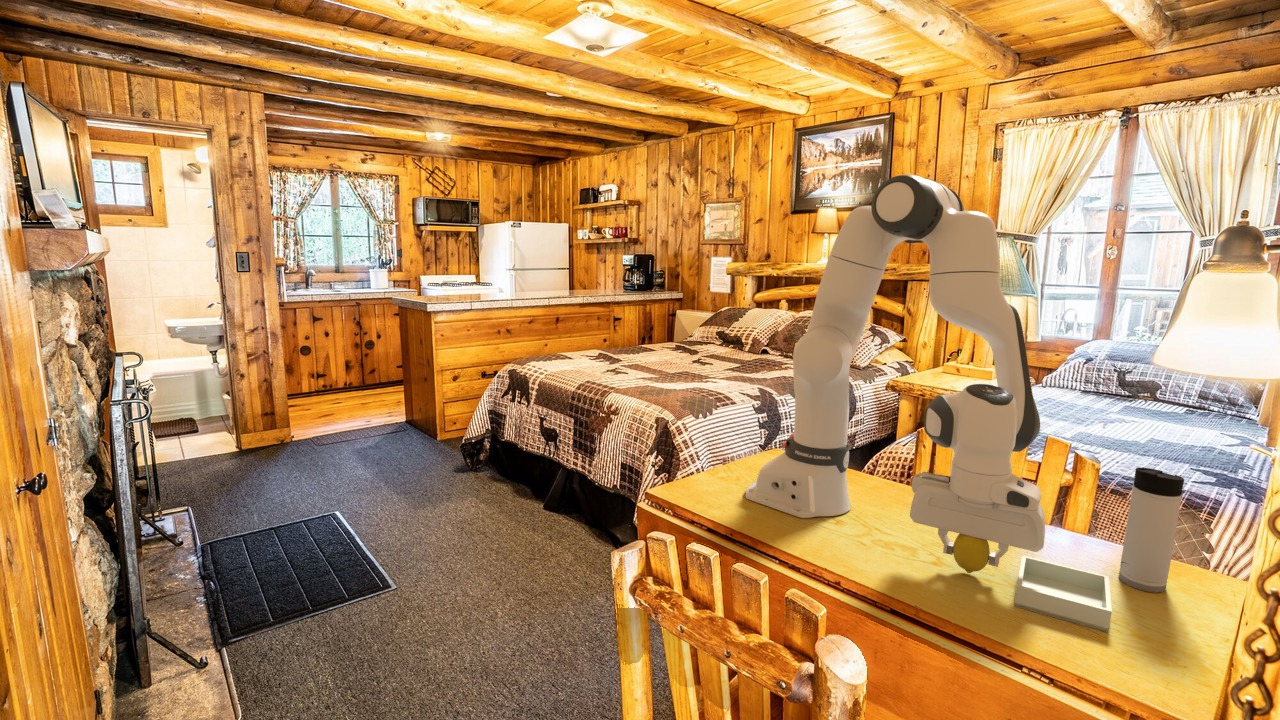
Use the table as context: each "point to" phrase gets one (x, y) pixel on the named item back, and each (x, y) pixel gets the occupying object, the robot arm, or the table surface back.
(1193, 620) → the table surface
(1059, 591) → the bin
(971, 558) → the lemon
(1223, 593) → the table surface
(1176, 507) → the travel mug
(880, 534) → the table surface
